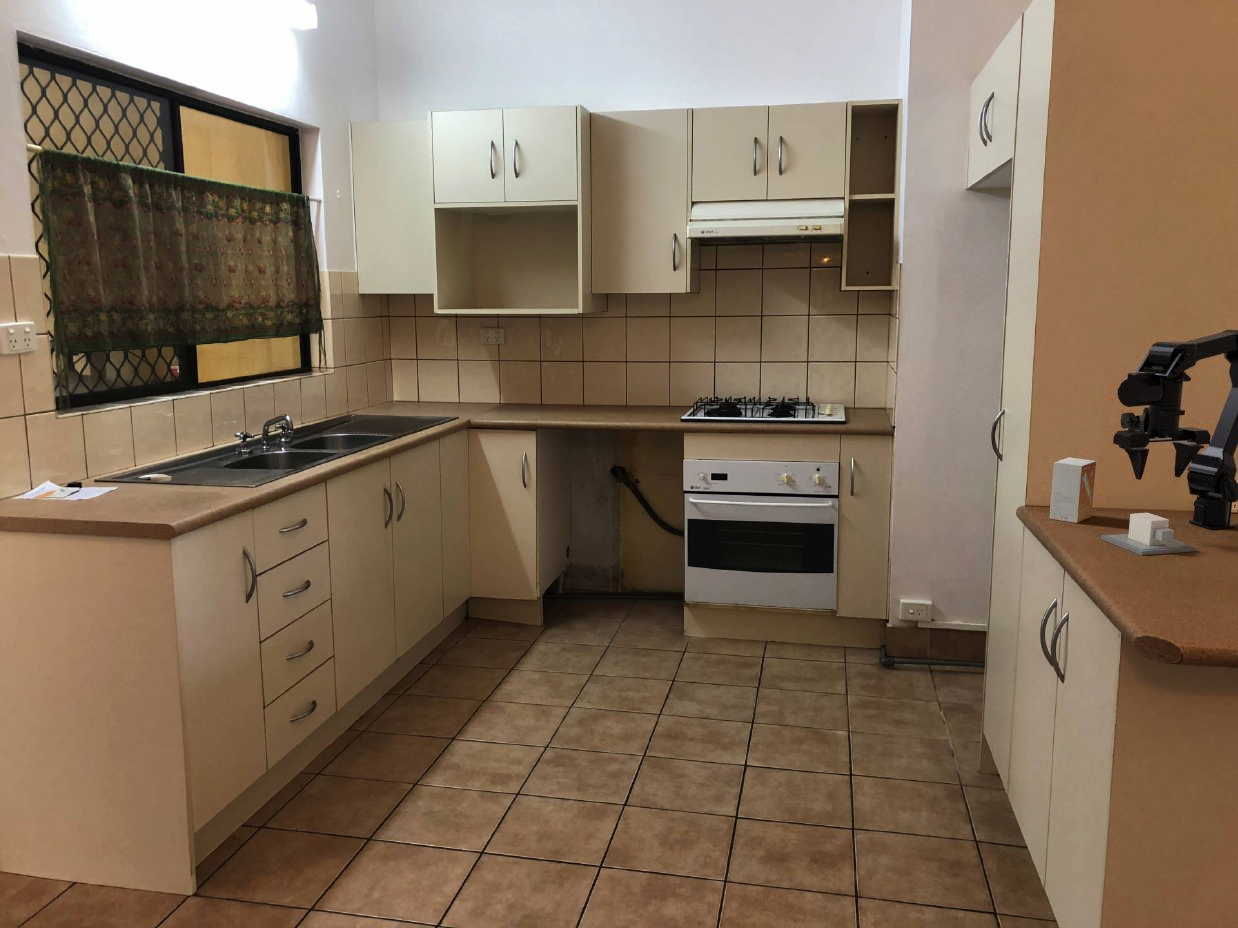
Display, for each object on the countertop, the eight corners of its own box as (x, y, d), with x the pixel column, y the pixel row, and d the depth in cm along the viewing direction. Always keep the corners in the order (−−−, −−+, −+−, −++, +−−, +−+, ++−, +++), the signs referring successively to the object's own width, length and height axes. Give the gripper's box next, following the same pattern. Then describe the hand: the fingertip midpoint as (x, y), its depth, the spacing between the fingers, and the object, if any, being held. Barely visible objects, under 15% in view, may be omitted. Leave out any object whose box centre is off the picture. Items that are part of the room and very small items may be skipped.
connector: (1145, 536, 204) (1147, 512, 203) (1175, 547, 196) (1178, 522, 195) (1128, 537, 203) (1130, 513, 202) (1157, 548, 195) (1160, 524, 194)
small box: (1077, 523, 218) (1082, 465, 215) (1048, 518, 222) (1052, 461, 219) (1092, 517, 223) (1096, 460, 220) (1063, 512, 228) (1068, 456, 225)
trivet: (1151, 535, 207) (1152, 531, 207) (1195, 551, 196) (1195, 546, 196) (1100, 539, 205) (1101, 534, 205) (1141, 555, 194) (1141, 550, 193)
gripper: (1176, 397, 213) (1169, 468, 216) (1098, 400, 209) (1092, 473, 212) (1216, 404, 202) (1208, 478, 205) (1135, 407, 198) (1128, 483, 201)
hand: (1157, 478), depth 206 cm, fingers open, 9 cm apart
